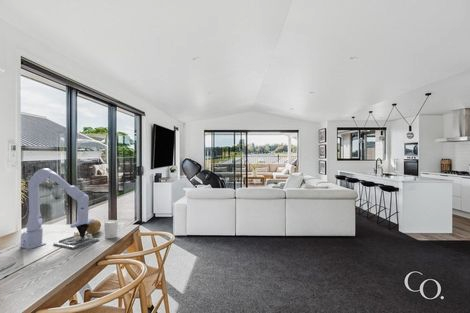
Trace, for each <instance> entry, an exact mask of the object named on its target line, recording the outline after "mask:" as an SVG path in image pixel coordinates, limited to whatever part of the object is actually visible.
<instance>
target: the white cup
mask: <svg viewBox="0 0 470 313" xmlns="http://www.w3.org/2000/svg"><path fill="white" fill-rule="evenodd" d="M118 227H119V221H118V220H117V219H109V220H105V221H104V237H105V239H110V238H111V239H115V238H117V237H116V236H118V235H117V234H118ZM114 237H115V238H114Z"/></svg>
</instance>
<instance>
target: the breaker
mask: <svg viewBox="0 0 470 313" xmlns="http://www.w3.org/2000/svg"><path fill="white" fill-rule="evenodd" d="M79 235H80V234H79V233H78V234H75V238H73V241H77V240H80V239H81V237H79Z"/></svg>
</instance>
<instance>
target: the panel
mask: <svg viewBox="0 0 470 313" xmlns="http://www.w3.org/2000/svg"><path fill="white" fill-rule="evenodd" d="M75 234H79V231H78V230H77V231H74V232H73V234H72V236H68V237H66V238H63V239H59V240H58V242H54V243H53V246H55V247H61V248H66V249H70V250H76V249H79V248H82V247H85V246H88V245H90V243H91V244H93V242H94V243H96V242H98V241H100V239H99V238H95V237H94V236H93V235H92V234H88V233H87V236H86V235H85V236H84V237H81V239H80V240H77V241H73V238H75ZM79 237H80V234H79Z"/></svg>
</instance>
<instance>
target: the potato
mask: <svg viewBox="0 0 470 313" xmlns="http://www.w3.org/2000/svg"><path fill="white" fill-rule="evenodd" d="M88 224H89V227H88V228H87V230H86V233H87V234H92V236H94V235H96V234H97V233H98V232H99V231H100V230H101V227H102V224H101V222H100V220H97V219H94V222H93V223H88Z"/></svg>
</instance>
